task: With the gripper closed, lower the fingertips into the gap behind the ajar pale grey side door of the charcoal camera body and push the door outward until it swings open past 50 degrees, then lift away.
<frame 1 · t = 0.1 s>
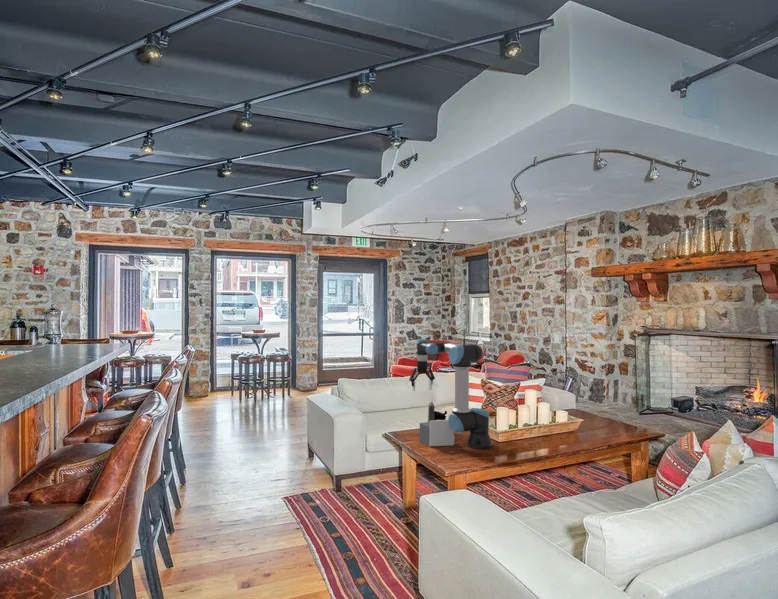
hand: (422, 390, 335), 28 cm above the table, fingers open, 13 cm apart
vintage camera: (438, 431, 328), on the table
camera body: (434, 442, 303), on the table
side door: (441, 432, 295), point 9 cm above the table, hinge at 16.7°
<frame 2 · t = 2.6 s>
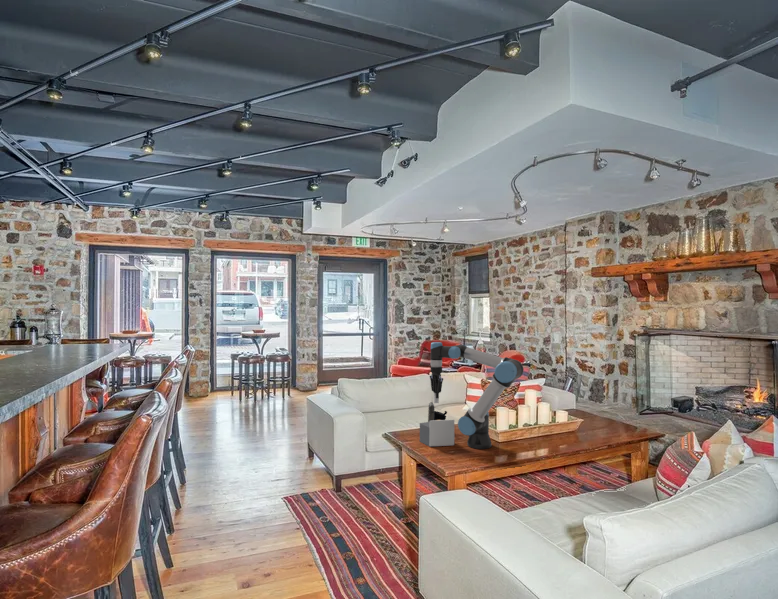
hand: (436, 402, 300), 26 cm above the table, fingers closed
nothing on the table moved.
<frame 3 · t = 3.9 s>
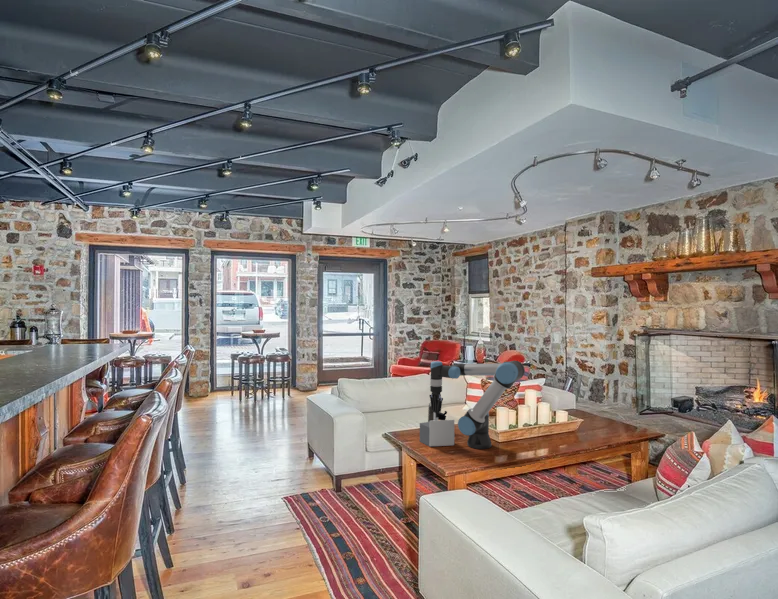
hand: (435, 422, 300), 14 cm above the table, fingers closed
nothing on the table moved.
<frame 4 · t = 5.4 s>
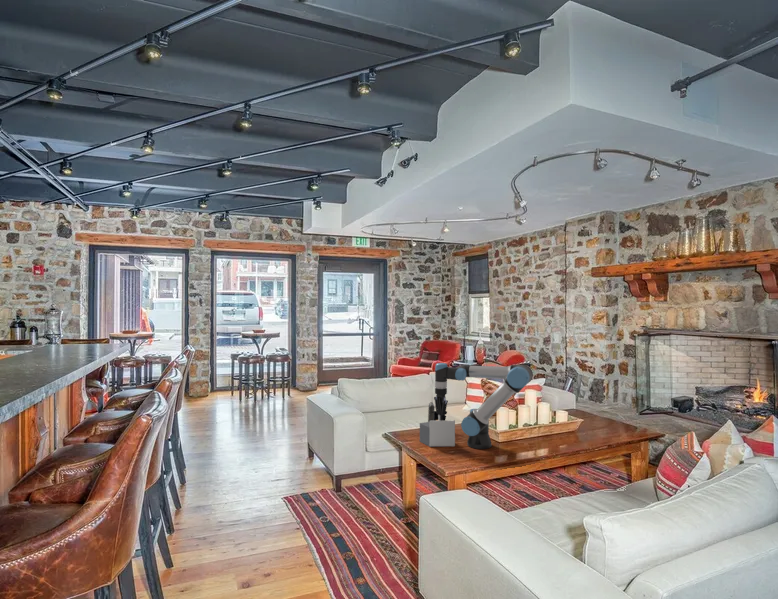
hand: (440, 424, 295), 14 cm above the table, fingers closed
side door: (442, 433, 294), point 9 cm above the table, hinge at 24.0°, touching gripper
everything else where it was.
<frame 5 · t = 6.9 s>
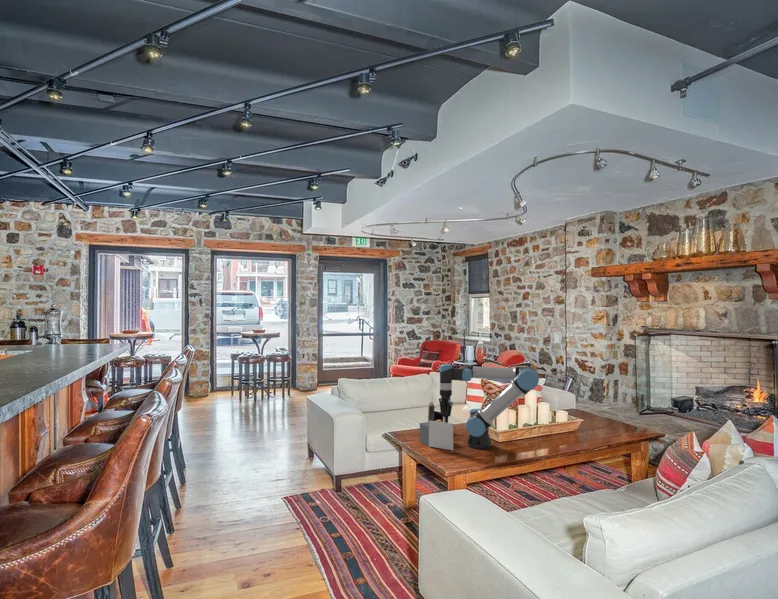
hand: (445, 426, 291), 14 cm above the table, fingers closed
side door: (441, 435, 290), point 9 cm above the table, hinge at 55.4°, touching gripper
everything else where it was.
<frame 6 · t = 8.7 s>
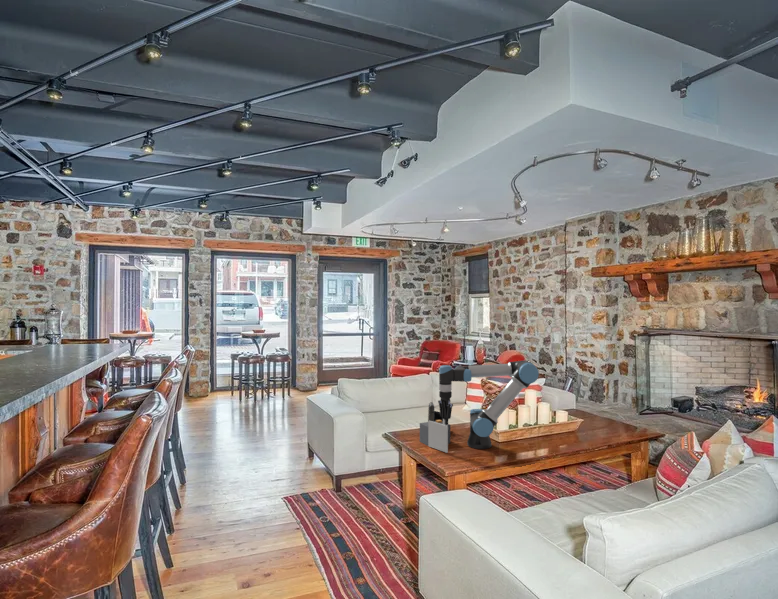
hand: (445, 429, 285), 13 cm above the table, fingers closed
side door: (437, 436, 287), point 8 cm above the table, hinge at 77.9°, touching gripper
everything else where it was.
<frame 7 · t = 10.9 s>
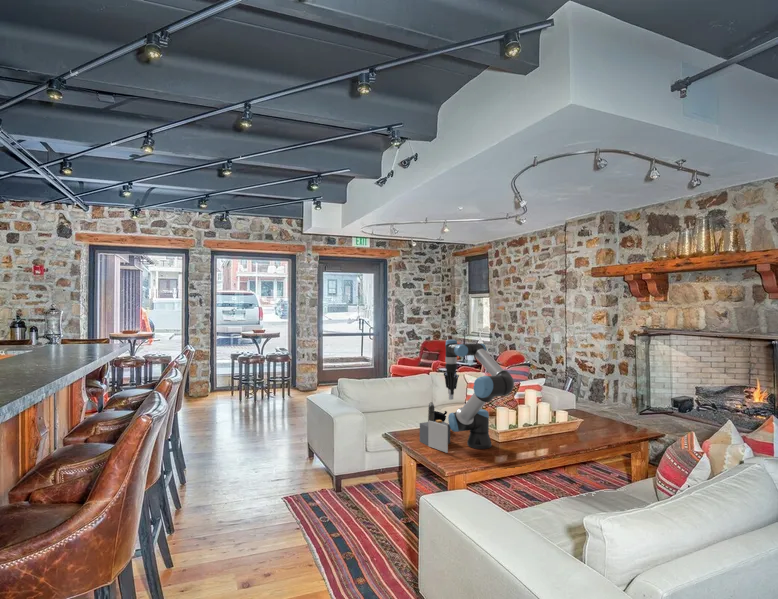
hand: (451, 399, 304), 28 cm above the table, fingers closed
side door: (437, 436, 287), point 8 cm above the table, hinge at 78.0°
everything else where it was.
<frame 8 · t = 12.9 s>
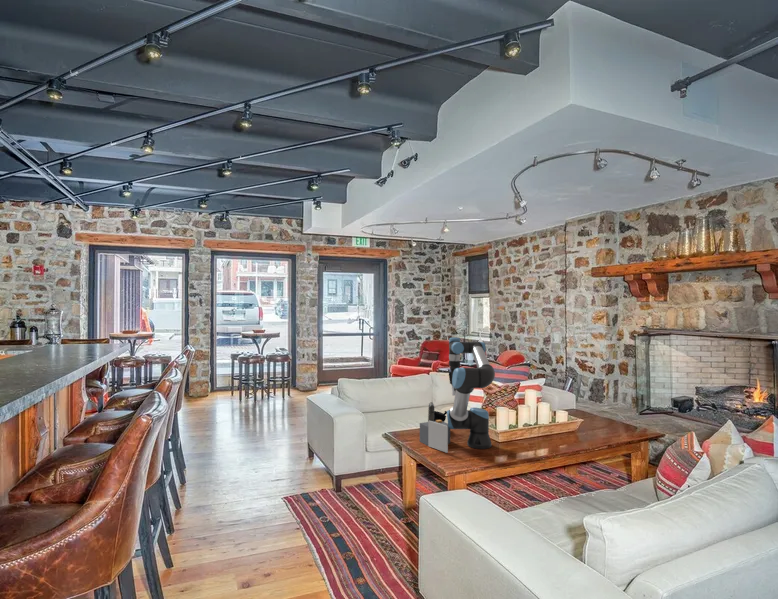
hand: (454, 395, 315), 28 cm above the table, fingers closed
nothing on the table moved.
at the end: side door at +78° (first picture: +17°); vintage camera moved 0.3 cm from its start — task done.
